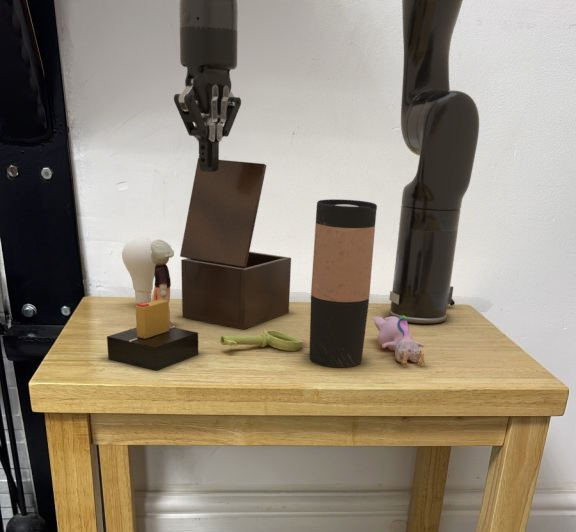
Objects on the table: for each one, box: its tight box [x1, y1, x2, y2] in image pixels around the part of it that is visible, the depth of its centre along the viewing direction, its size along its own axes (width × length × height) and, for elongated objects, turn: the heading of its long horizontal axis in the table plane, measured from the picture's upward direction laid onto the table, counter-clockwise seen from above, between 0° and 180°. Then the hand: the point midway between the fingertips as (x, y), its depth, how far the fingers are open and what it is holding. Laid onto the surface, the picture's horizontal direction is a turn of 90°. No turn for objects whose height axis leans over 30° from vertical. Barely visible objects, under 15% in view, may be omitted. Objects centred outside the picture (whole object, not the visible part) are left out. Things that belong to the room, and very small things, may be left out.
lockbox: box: [180, 251, 292, 330], centre depth 124 cm, size 14×12×9 cm
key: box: [219, 329, 303, 352], centre depth 109 cm, size 7×12×2 cm, turn 139°
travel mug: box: [309, 198, 378, 368], centre depth 101 cm, size 8×8×20 cm
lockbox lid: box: [179, 157, 267, 267], centre depth 115 cm, size 14×12×1 cm
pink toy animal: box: [372, 315, 426, 367], centre depth 109 cm, size 6×6×15 cm
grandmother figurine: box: [151, 238, 175, 327], centre depth 113 cm, size 8×4×13 cm, turn 18°
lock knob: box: [135, 299, 170, 339], centre depth 101 cm, size 5×1×4 cm, turn 150°
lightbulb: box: [121, 235, 156, 304], centre depth 126 cm, size 6×6×11 cm
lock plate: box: [106, 325, 199, 371], centre depth 103 cm, size 9×8×3 cm
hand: (209, 170), depth 110 cm, fingers closed
